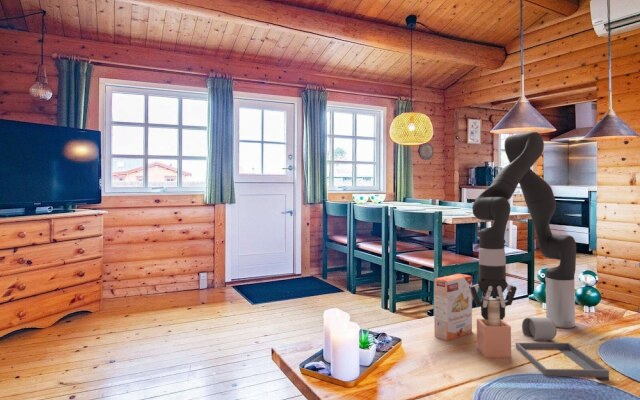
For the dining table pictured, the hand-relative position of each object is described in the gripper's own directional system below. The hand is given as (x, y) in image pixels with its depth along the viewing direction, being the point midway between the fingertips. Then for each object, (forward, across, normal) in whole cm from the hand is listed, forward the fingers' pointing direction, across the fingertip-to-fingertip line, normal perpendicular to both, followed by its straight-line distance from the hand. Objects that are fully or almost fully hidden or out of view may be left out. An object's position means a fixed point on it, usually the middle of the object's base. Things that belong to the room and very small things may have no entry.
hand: (493, 318), depth 125 cm
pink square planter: (+11, 0, 0) cm, 11 cm away
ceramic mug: (+12, -19, -15) cm, 27 cm away
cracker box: (+11, +8, -16) cm, 21 cm away
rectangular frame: (+11, -16, +6) cm, 20 cm away
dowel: (+10, 0, 0) cm, 10 cm away
